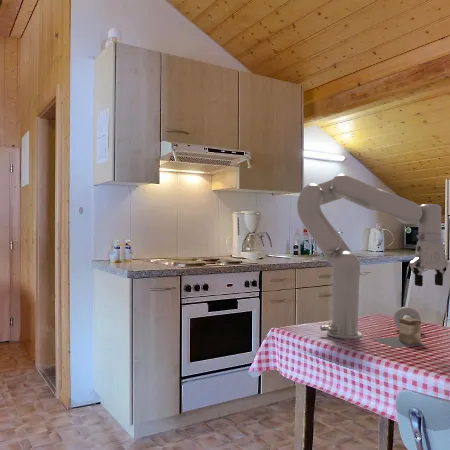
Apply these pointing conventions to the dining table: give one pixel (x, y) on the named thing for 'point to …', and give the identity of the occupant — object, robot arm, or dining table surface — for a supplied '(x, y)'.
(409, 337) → the tall block
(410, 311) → the donut
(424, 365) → the dining table surface
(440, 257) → the robot arm
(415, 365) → the dining table surface
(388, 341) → the mat
